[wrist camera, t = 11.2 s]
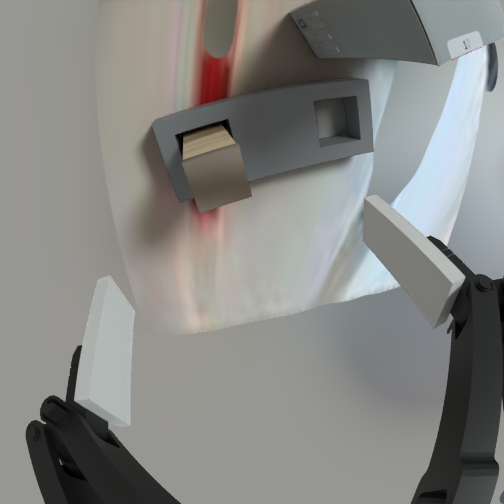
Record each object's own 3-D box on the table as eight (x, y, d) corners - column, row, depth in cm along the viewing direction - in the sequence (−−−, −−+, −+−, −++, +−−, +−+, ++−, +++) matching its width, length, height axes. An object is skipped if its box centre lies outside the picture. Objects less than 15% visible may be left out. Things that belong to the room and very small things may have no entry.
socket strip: (154, 119, 29) (151, 124, 26) (353, 77, 30) (369, 79, 27) (179, 191, 35) (179, 203, 32) (360, 144, 36) (374, 152, 33)
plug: (183, 132, 31) (181, 163, 21) (219, 121, 31) (239, 145, 21) (194, 166, 34) (199, 213, 23) (229, 155, 34) (252, 196, 24)
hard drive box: (317, 61, 28) (436, 68, 13) (286, 12, 24) (391, -30, 8) (398, 28, 26) (513, 37, 10) (375, -16, 21) (487, -31, 6)
